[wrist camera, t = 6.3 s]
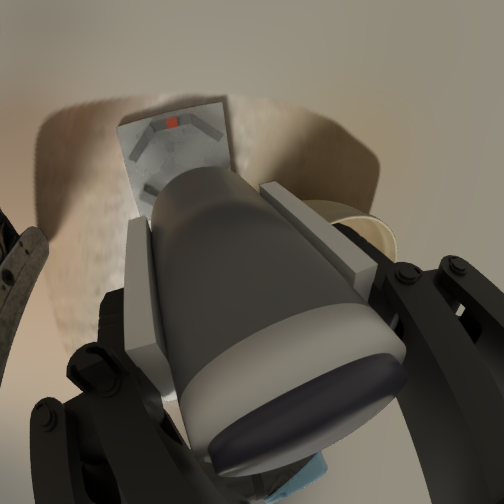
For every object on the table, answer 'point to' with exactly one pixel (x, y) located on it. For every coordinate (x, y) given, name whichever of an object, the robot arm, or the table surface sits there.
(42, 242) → the vintage camera
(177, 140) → the mount
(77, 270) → the table surface
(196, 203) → the lens
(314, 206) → the planter bowl
